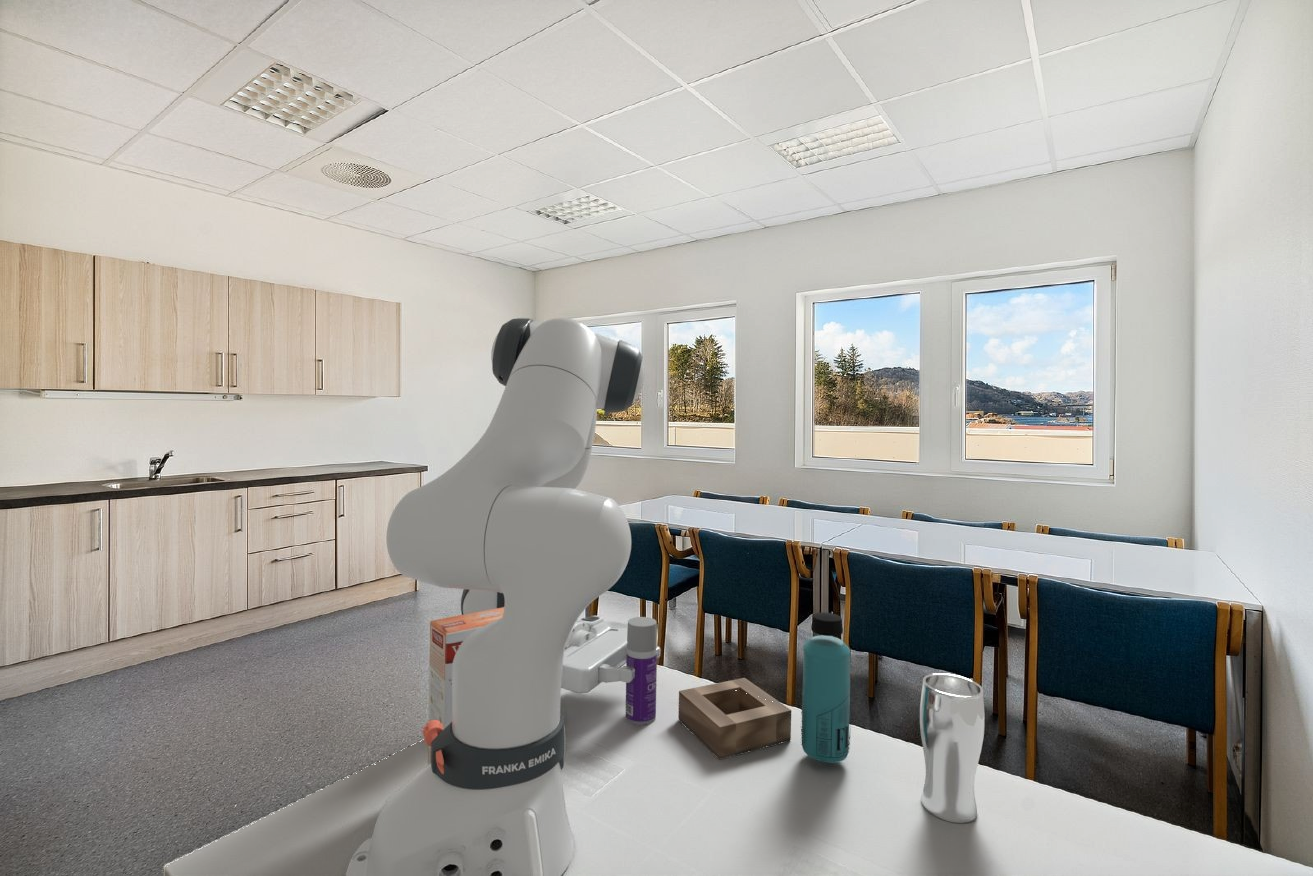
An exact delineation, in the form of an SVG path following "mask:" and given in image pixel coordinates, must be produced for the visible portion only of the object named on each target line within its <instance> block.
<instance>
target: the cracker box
mask: <svg viewBox="0 0 1313 876" xmlns="http://www.w3.org/2000/svg"><path fill="white" fill-rule="evenodd" d="M503 613H504V607H502V608H497V609H492V610H486V611H481V612H475V613H470V614H465V615H462V614H460V615H454V616H449V617H444V618H440V619H439V618H438V619H434V620H431V621H429V663H428V664H429V668H428V669H429V671H428V672H429V673H428V678H429V680H428V722H429V721H432V720H438V721H440V723H442V726H443V730H444V729H445V728H446V727H447V726H448V725H449V724H450V723H451V722H452V664H453V660H454V657H455V654H456V652H457V650H458V648H459V646H460V645H461V643H462V642H463V641H464V640H465V638H466V637H467V636H469V635H470V634H471V633H472V632H474V631H476V630H477V629H479V628H481V627H483V626H484V625H486V624H488V623H491V622H493V621H495V620H497V619H500V618H502V617H503ZM427 746H428V747H427V766H428V765H429V764H430V763H431V746H429V745H427Z"/></svg>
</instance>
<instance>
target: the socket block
mask: <svg viewBox="0 0 1313 876" xmlns="http://www.w3.org/2000/svg"><path fill="white" fill-rule="evenodd" d="M735 690H737V691H735ZM746 693H747V694H746ZM758 696H759V697H758ZM765 699H766V700H765ZM772 701H773V702H772ZM678 719H679V720H680V721H679V720H678ZM678 719H677V720H678V721H679V722H680V723H681V724H682V723H683V724H684V725H685V726H686V727H685V726H684V725H683V724H682V725H683V726H684V727H685V728H686V729H687V728H688V729H689V730H688V729H687V730H688V731H689V732H690V733H691V732H692V733H693V734H692V733H691V734H692V735H693V737H695V738H696V739H698V740H699V742H701V743H702V744H703V746H705V747H706V749H708V750H709V751H710V753H711V754H713V755H714V756H715V757H716V758H717V760H720V761H721V760H724V759H728V758H731V757H732V758H733V757H735V756H738V755H739V756H740V755H742V753H743V754H746V752H747V753H749V752H748V751H751V752H754V751H757V749H758V750H761V749H760V748H762V749H764V748H763V747H766V746H770V747H773V746H776V745H775V744H777V745H780V744H779V743H781V742H785V743H788V742H791V741H790V740H792V737H791V736H792V710H791V708H789V707H787V706H786V705H784V704H783V703H782V702H780V701H779V700H777V699H776V698H775V697H773V696H772V695H770V694H769V693H767V692H766V691H764V690H763V689H761V688H760V687H759V686H757V685H755V683H753V682H751V680H749V679H747V678H746V677H742V678H736V679H732V680H731V679H730V680H728V681H727V680H726V681H722V682H717V683H716V682H715V683H713V684H712V683H711V684H708V685H707V684H706V685H703V686H702V685H701V686H698V687H693V688H686V689H683V690H678ZM781 744H782V743H781ZM772 745H773V746H772ZM766 748H767V747H766Z"/></svg>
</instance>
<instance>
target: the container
mask: <svg viewBox="0 0 1313 876" xmlns="http://www.w3.org/2000/svg"><path fill="white" fill-rule="evenodd" d="M627 624H628V629H627V653H626V664H625V666H628V667H633V668H634V669H635V678H634V679H633V680H632V681H631V682H629V683H627V682H625V720H626V721H627V722H628V723H630V724H632V725H635V726H645V725H649V724H651V723H653V722H655V721H656V719H657V675H658V674H657V672H658V671H657V668H658V666H657V665H658V661H657V660H658V659H657V646H658V642H657V641H658V636H657V635H658V631H657V629H658V628H657V626H658V625H657V624H658V623H657V620H656V619H654V618H652V617H648V616H637V617H632V618H630V619H628V620H627Z"/></svg>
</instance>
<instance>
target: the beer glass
mask: <svg viewBox="0 0 1313 876" xmlns="http://www.w3.org/2000/svg"><path fill="white" fill-rule="evenodd" d="M920 694H921V696H920V702H919V703H920V705H919V725H920V726H919V727H920V736H921V744H922V750H923V756H924V764H925V779H924V784H923V785H924V786H923V789H922V792H921V797H920V800H921V803H922V806H923V807H924V808H925V809H926V810H927V812H929V813H930V814H932V815H933V816H934V817H937V818H938V819H941V820H942V821H943V820H944V821H945V822H946V821H947V822H950V823H956V824H967V823H971V822H973V821H974V820H976V818H977V816H978V809H977V808H978V807H977V801H976V795H975V778H976V774H977V769H978V765H979V761H980V756H981V753H982V748H983V742H984V737H985V736H984V735H985V704H984V688H983V687H982V686H981V685H980V684H979V683H978V682H976V681H974V680H972V679H969V678H967V677H964V676H961V675H956V674H951V673H945V672H944V673H943V672H942V673H939V672H938V673H937V672H936V673H930V674H927V675H925V676H923V679H922V687H921V693H920Z"/></svg>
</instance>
